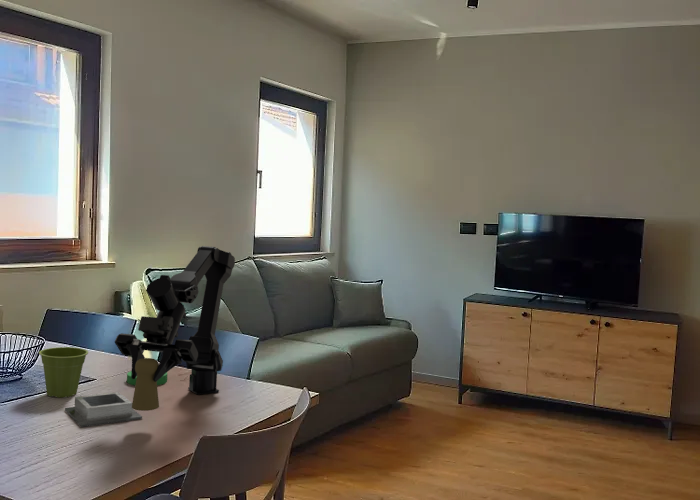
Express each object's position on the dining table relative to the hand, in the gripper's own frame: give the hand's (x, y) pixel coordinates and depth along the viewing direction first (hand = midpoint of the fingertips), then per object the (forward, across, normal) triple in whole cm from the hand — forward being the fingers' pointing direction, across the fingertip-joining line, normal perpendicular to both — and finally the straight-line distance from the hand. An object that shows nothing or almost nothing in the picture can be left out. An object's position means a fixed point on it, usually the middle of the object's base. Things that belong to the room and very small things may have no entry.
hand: (143, 379), depth 156 cm
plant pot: (-4, -32, +22) cm, 39 cm away
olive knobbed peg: (+4, 0, +6) cm, 7 cm away
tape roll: (-18, -19, +36) cm, 45 cm away
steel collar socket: (+3, -14, +13) cm, 19 cm away
